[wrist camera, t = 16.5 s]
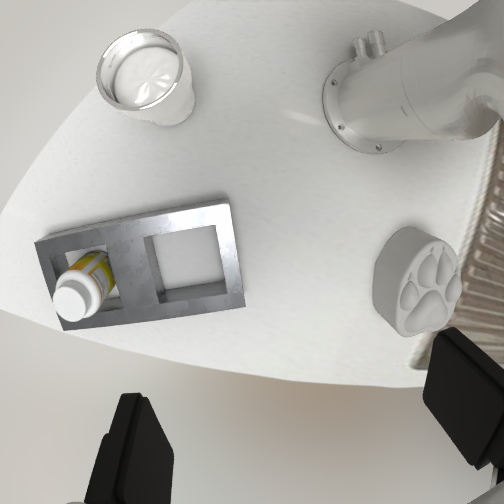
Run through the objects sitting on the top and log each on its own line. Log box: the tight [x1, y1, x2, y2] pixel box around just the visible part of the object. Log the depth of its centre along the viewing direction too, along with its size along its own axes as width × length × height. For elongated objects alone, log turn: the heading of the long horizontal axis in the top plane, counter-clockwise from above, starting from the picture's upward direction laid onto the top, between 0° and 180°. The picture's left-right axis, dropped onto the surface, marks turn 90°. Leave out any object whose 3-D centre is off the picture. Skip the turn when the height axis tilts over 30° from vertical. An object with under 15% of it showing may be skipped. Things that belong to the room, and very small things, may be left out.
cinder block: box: [34, 198, 246, 331], centre depth 36 cm, size 12×24×4 cm, turn 97°
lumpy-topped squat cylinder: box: [373, 227, 462, 337], centre depth 38 cm, size 10×13×9 cm
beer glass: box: [96, 29, 195, 126], centre depth 26 cm, size 7×7×15 cm
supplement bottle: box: [53, 251, 116, 322], centre depth 33 cm, size 6×6×10 cm
